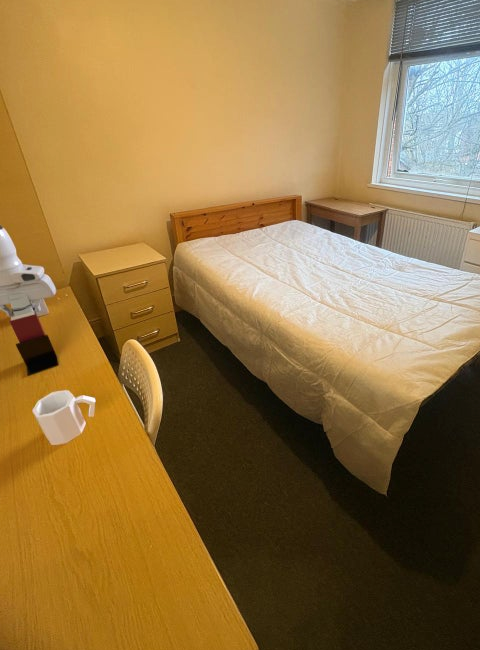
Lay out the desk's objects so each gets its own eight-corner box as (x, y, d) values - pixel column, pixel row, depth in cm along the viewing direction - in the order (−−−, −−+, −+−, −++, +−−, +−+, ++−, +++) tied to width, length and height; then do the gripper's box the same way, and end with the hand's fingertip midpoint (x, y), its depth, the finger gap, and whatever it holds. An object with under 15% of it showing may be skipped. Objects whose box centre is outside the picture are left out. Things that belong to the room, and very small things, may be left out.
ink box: (38, 326, 104) (27, 291, 101) (18, 330, 101) (6, 294, 98) (38, 320, 111) (27, 287, 108) (19, 324, 108) (8, 291, 105)
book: (9, 317, 98) (9, 321, 96) (35, 310, 102) (35, 314, 100) (29, 359, 105) (29, 364, 103) (53, 352, 109) (53, 356, 106)
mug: (46, 451, 76) (31, 423, 72) (47, 426, 83) (33, 398, 78) (103, 427, 82) (92, 400, 78) (100, 405, 89) (89, 379, 84)
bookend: (26, 366, 102) (15, 343, 98) (57, 356, 107) (47, 334, 102) (27, 376, 98) (15, 353, 94) (58, 365, 103) (48, 342, 99)
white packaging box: (27, 320, 125) (14, 292, 119) (25, 313, 130) (12, 285, 124) (50, 313, 130) (38, 286, 124) (47, 306, 134) (35, 280, 129)
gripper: (-41, 285, 92) (-19, 325, 99) (44, 273, 100) (59, 311, 106) (-32, 276, 97) (-12, 314, 104) (48, 266, 105) (63, 302, 111)
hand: (25, 313), depth 105 cm, fingers closed on ink box, 6 cm apart
